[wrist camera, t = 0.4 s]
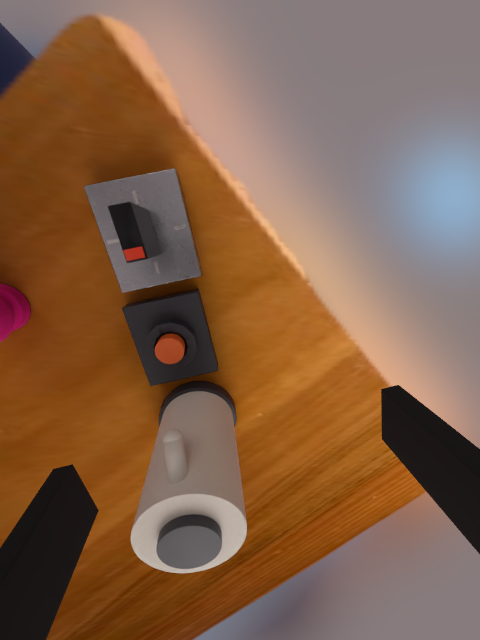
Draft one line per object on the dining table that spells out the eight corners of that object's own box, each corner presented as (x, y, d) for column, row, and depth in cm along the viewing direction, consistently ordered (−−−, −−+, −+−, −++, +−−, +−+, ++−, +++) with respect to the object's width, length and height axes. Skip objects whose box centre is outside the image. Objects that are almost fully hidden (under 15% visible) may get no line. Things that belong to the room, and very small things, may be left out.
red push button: (153, 336, 33) (150, 341, 31) (181, 330, 33) (179, 335, 31) (162, 360, 34) (159, 366, 32) (188, 354, 34) (187, 360, 32)
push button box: (127, 303, 34) (116, 312, 31) (198, 288, 35) (197, 294, 31) (153, 378, 38) (147, 393, 35) (217, 363, 39) (218, 377, 35)
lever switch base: (95, 190, 30) (82, 185, 27) (178, 174, 30) (174, 167, 27) (129, 288, 34) (121, 293, 31) (202, 272, 34) (201, 276, 31)
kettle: (144, 372, 38) (85, 494, 20) (222, 355, 38) (232, 458, 21) (175, 456, 43) (150, 610, 26) (243, 439, 44) (265, 579, 26)
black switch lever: (131, 213, 28) (105, 205, 22) (148, 209, 28) (129, 200, 22) (145, 257, 30) (125, 263, 23) (161, 254, 30) (147, 259, 23)
